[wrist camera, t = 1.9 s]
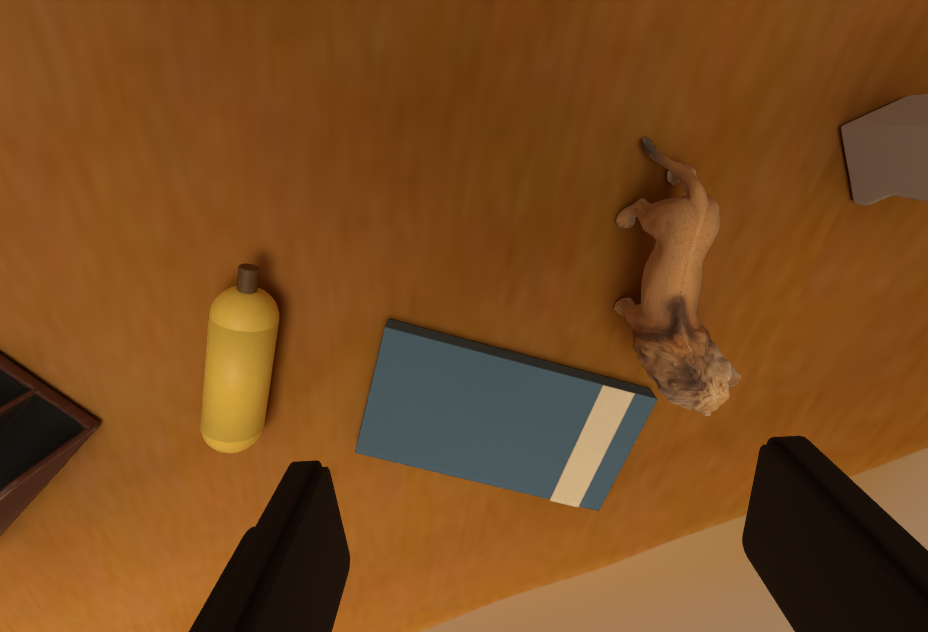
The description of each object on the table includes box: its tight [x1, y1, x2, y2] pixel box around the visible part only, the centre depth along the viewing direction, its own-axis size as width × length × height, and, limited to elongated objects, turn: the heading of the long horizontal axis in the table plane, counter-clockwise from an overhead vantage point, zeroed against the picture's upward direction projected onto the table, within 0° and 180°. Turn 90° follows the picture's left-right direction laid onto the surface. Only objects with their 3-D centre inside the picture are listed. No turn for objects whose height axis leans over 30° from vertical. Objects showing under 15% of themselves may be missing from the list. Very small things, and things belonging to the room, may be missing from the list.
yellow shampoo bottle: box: [201, 264, 279, 453], centre depth 32 cm, size 15×4×4 cm, turn 164°
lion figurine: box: [614, 138, 741, 416], centre depth 26 cm, size 15×5×9 cm, turn 12°
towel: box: [355, 319, 657, 511], centre depth 35 cm, size 20×11×2 cm, turn 74°
